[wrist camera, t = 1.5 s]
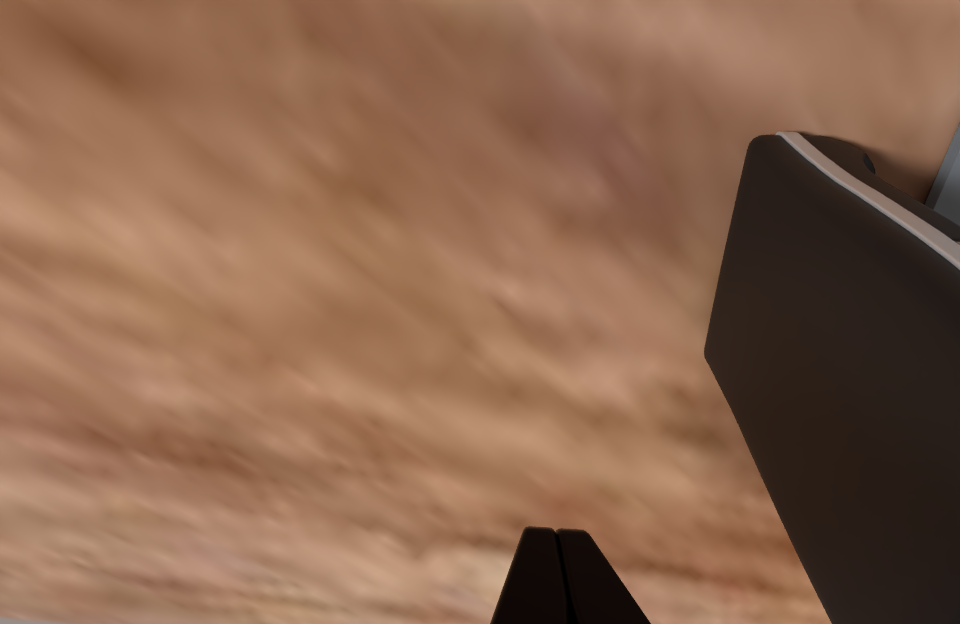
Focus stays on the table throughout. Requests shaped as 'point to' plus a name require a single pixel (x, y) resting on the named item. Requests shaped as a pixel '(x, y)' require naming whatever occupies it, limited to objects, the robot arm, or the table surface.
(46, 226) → the table surface
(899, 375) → the battery charger
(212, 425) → the table surface
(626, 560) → the table surface
